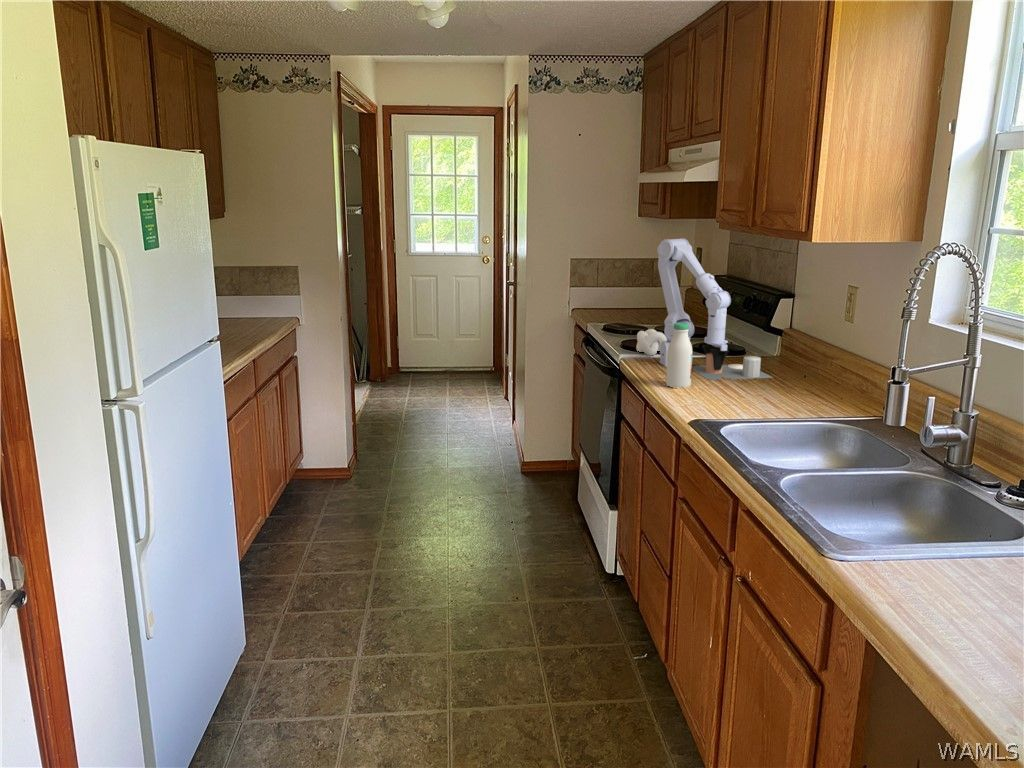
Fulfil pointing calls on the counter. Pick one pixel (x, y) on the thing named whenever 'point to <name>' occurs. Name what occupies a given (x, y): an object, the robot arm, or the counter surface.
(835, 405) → the counter surface
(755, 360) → the white domed cylinder
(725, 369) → the slate mat
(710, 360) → the peach domed cylinder
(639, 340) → the white puffy twist
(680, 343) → the milk bottle
